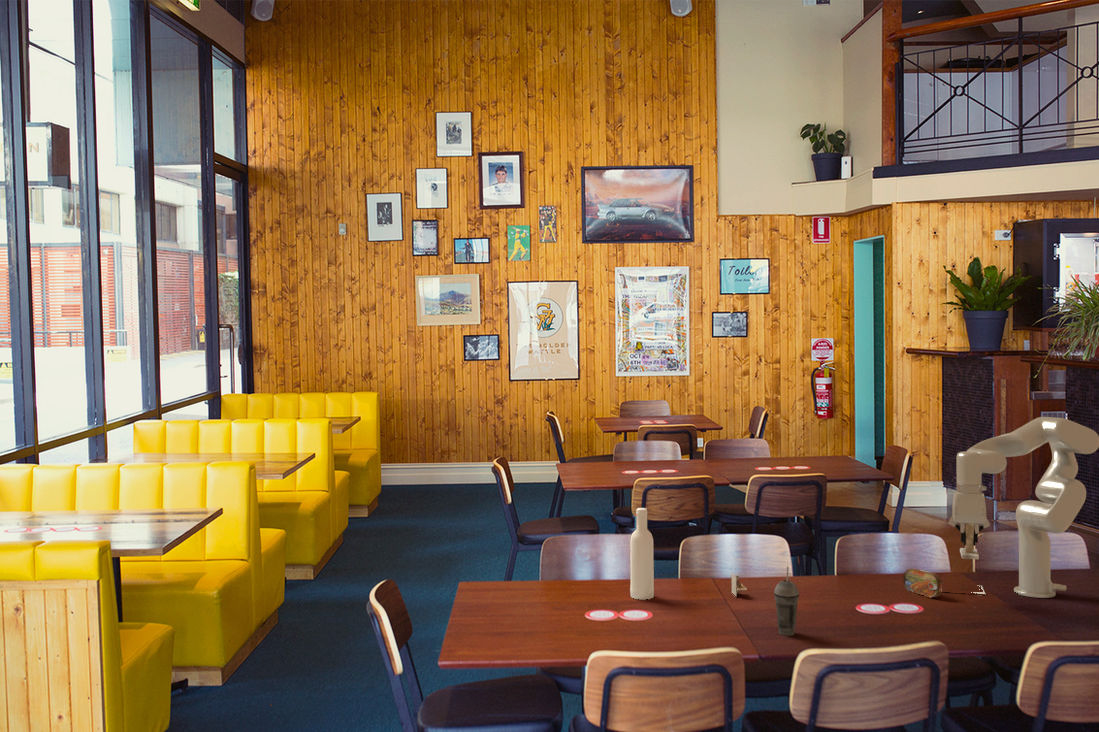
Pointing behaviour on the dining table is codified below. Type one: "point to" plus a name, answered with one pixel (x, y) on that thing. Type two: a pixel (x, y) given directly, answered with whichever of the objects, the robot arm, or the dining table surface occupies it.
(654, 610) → the dining table surface
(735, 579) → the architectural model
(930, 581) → the tin
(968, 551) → the beige post on base
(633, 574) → the bottle
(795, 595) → the beverage cup
